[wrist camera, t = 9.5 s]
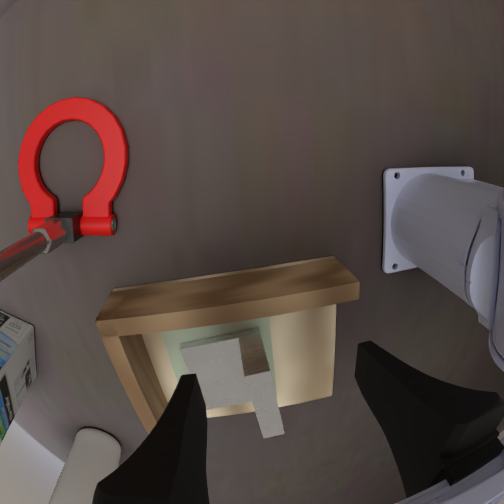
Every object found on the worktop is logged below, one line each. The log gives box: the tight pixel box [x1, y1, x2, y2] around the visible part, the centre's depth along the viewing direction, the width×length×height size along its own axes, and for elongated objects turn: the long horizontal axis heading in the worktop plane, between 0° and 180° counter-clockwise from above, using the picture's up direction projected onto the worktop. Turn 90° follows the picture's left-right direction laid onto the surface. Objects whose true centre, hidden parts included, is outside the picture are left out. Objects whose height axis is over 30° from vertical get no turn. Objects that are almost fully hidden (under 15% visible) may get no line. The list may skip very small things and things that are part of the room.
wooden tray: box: [95, 258, 360, 434], centre depth 22 cm, size 16×14×4 cm
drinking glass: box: [49, 428, 121, 504], centre depth 20 cm, size 7×7×15 cm
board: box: [113, 256, 336, 418], centre depth 24 cm, size 16×14×1 cm
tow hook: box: [0, 97, 128, 282], centre depth 12 cm, size 8×13×9 cm
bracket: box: [180, 327, 285, 438], centre depth 21 cm, size 7×6×5 cm
